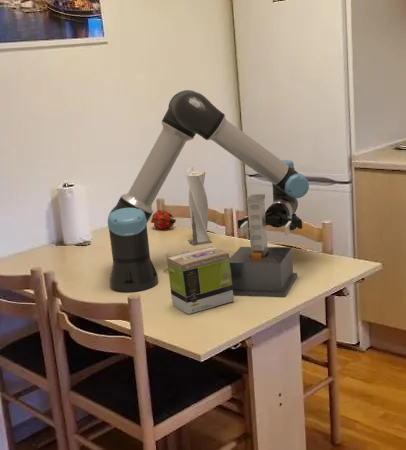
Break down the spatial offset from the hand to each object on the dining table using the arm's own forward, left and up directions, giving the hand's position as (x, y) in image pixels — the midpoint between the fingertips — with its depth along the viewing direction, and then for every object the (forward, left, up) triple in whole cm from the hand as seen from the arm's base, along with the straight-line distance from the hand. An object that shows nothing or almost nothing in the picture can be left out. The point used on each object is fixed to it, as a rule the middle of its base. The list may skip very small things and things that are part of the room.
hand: (263, 231), depth 208 cm
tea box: (-24, +1, -16) cm, 29 cm away
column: (-3, -1, -14) cm, 14 cm away
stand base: (-3, -1, -16) cm, 16 cm away
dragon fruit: (+20, +82, -16) cm, 86 cm away
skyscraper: (+17, +54, -16) cm, 58 cm away
